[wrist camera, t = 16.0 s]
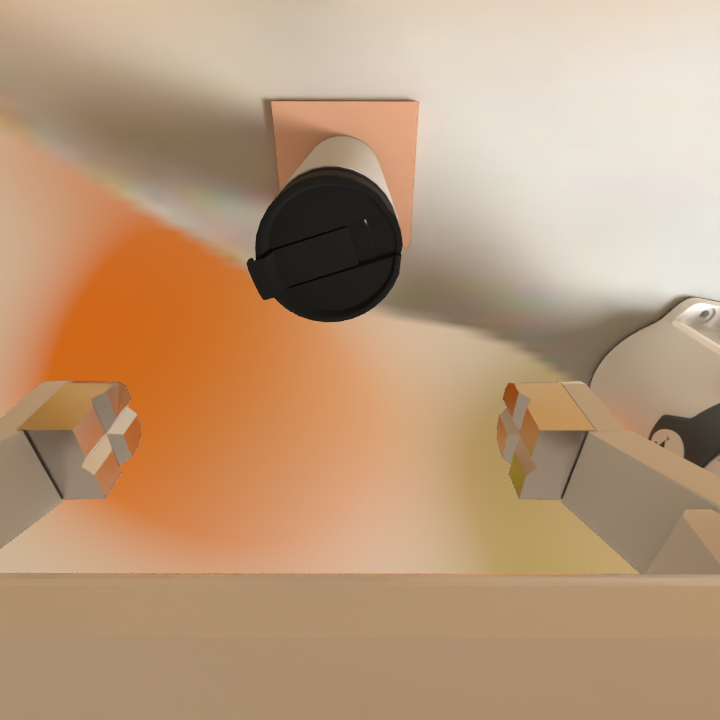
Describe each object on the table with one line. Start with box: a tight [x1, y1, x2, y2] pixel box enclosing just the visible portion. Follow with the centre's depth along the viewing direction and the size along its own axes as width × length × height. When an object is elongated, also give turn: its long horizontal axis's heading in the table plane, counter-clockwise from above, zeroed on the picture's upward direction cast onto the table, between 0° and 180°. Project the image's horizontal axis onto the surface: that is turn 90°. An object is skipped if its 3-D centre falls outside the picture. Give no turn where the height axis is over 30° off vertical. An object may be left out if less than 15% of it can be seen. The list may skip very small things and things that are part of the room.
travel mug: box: [247, 135, 403, 322], centre depth 25 cm, size 6×7×20 cm
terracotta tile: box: [271, 101, 419, 248], centre depth 34 cm, size 11×11×1 cm
